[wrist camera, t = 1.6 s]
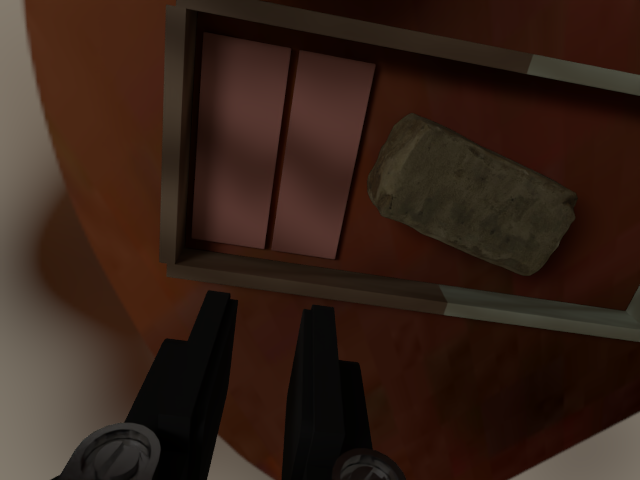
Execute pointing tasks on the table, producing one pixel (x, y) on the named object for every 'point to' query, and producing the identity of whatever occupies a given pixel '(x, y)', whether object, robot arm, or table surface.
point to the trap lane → (316, 162)
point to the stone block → (469, 196)
